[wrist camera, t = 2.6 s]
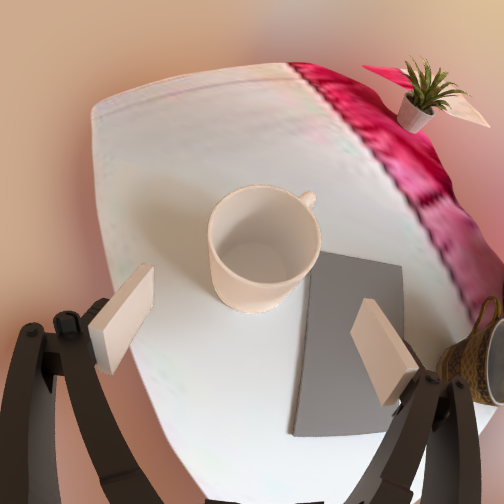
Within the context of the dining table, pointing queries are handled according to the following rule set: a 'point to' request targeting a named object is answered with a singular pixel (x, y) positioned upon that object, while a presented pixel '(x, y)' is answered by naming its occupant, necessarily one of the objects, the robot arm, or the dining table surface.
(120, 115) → the dining table surface
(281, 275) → the cup
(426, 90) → the house plant
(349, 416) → the mat
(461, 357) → the ceramic cup
